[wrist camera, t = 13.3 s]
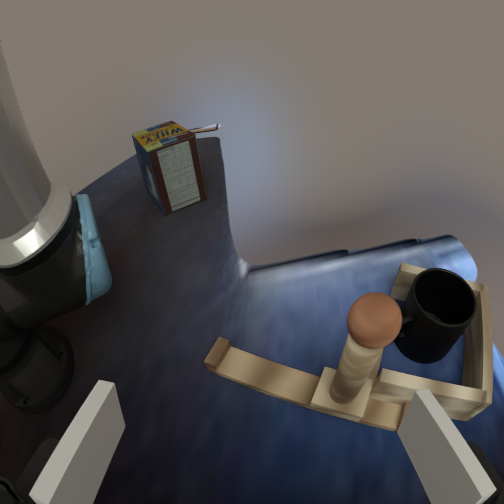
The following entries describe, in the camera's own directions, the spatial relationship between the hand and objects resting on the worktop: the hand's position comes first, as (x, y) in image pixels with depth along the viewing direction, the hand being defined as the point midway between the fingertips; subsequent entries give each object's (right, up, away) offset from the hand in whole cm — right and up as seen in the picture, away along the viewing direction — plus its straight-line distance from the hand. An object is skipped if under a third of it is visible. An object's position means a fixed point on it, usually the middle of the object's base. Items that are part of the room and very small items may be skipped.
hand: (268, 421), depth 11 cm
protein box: (-19, +21, +59) cm, 65 cm away
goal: (+23, -7, +24) cm, 34 cm away
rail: (+6, -10, +22) cm, 25 cm away
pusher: (+12, -7, +25) cm, 28 cm away
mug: (+22, -5, +26) cm, 35 cm away
